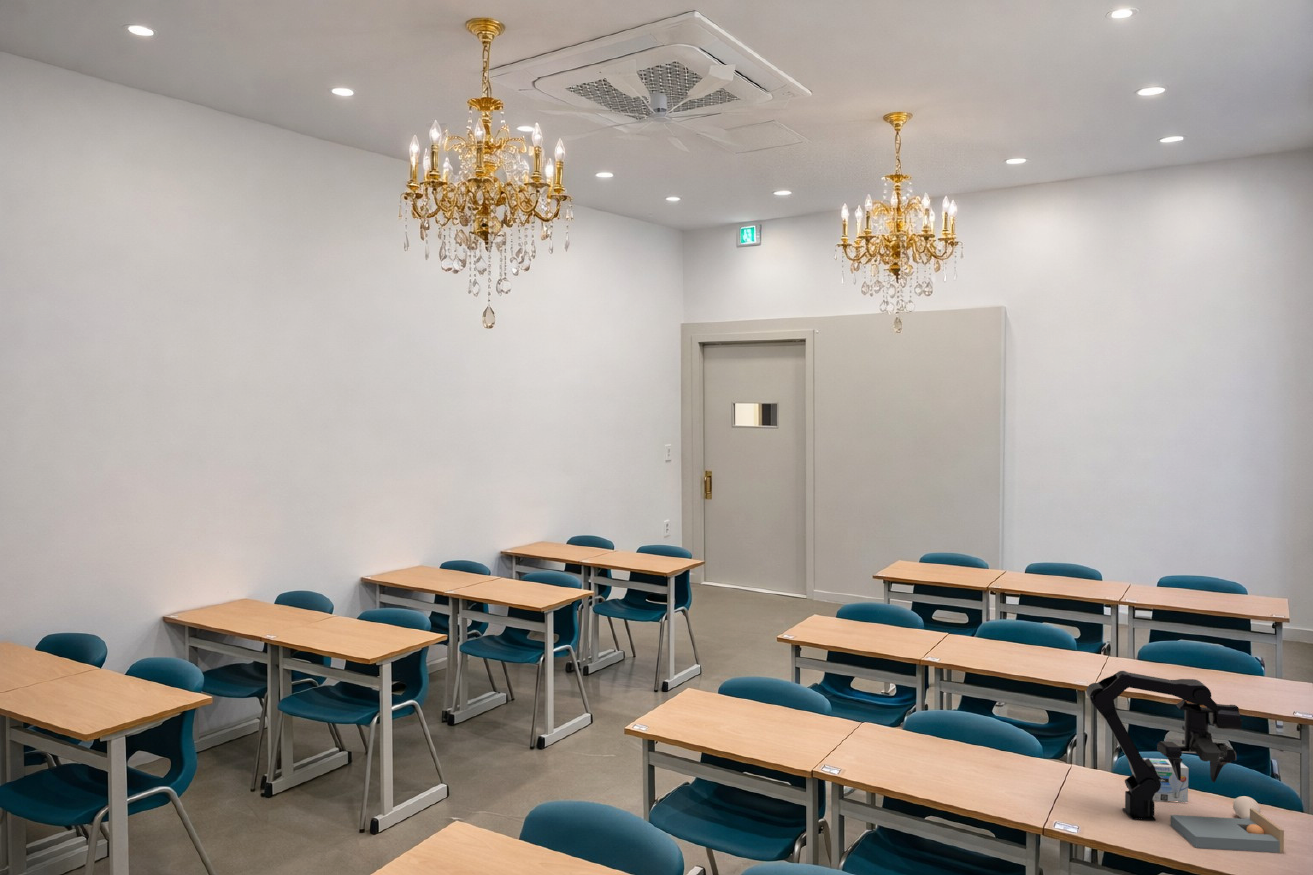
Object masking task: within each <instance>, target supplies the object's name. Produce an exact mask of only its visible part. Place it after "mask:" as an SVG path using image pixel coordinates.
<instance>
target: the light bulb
mask: <svg viewBox="0 0 1313 875" xmlns="http://www.w3.org/2000/svg"><path fill="white" fill-rule="evenodd" d="M1250 808H1253V809H1255V810H1256V811H1258V812H1259V813H1261V807H1260V805H1259V803H1258V802H1257V801H1256V800H1255V799H1254V798H1252V797H1250V796H1245V795H1243V796H1238V797H1236V798H1235V799H1234V800H1233V802H1232V809H1233V811H1234V813H1235V814H1236V816H1238V818H1239V819H1250Z"/></svg>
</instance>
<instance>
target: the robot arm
mask: <svg viewBox="0 0 1313 875" xmlns="http://www.w3.org/2000/svg"><path fill="white" fill-rule="evenodd" d="M1129 688H1131V689H1136V690H1142V691H1147V692H1151V693H1156V694H1157V693H1158V694H1163V695H1171V696H1173V697H1176V698H1179V699H1181V701H1180V702H1178V703H1176V704H1175V705H1176V707H1177V708H1178V709H1179V710H1181V711H1184V725H1182V727H1181V730H1183V731H1184V739H1182V740H1181V744H1182V745H1178V744H1176V743H1175V742H1174V741H1166V740H1165V741H1163V740H1161V741H1160V740H1159V742H1158V743H1157V746H1156V750H1157V751H1158V752H1159V754H1162V755H1163V756H1164V757H1166V758H1167V759H1168V760H1169V761H1170V763H1171V766H1172V768H1173V770H1174V773H1175V775H1176V777H1177V779H1178V780H1179V781H1180V780H1181V763H1183V762H1182V761H1183V759H1182V758H1181V756H1182V755H1183V754H1189V755H1190V754H1191V755H1192V754H1193V755H1197V756H1198V757H1199V759H1200V761H1202V762H1209V771H1210V772H1209V774H1210V775H1209V776H1210V780H1211V782H1212V783H1216V781H1217V779H1218V777H1219V775H1220V773H1221V770H1222V768H1223V767H1224V766H1226V765H1227V764H1231V763H1232V761H1233V762H1234V761H1235V762H1236V761H1237V752H1236V751H1235V750H1234V749H1233V748H1231V747H1230V746H1228V745H1227V744H1226V743H1225V742H1216V741H1214V742H1213V739H1212V738H1213V736H1212V733H1211V732H1210V731H1209V728H1210V727H1209V726H1210V725H1213V726H1214V728H1215V729H1220V730H1228V731H1229V730H1230V731H1239V732H1240V731H1241V730H1242V726H1243V721H1242V717H1241V714H1240V713H1241V712H1240V711H1239V710H1240V709H1239V708H1240V707H1239V706H1237V705H1236V704H1221V703H1217V702H1215V700H1213V698H1212V692H1211V689H1209V687H1207V686H1206V685H1205V684H1204V683H1202V681H1200V680H1198V679H1195V678H1194V679H1191V678H1179V679H1167V678H1162V677H1158V676H1157V677H1156V676H1150V675H1145V674H1139V673H1135V672H1134V673H1133V672H1128V671H1126V670H1119V671H1117V672H1116V673H1114V674H1113V675H1110V676H1107V677H1105V678H1102V679H1101V680H1100V681H1098V682H1092V683H1090V684H1089V685H1088V686H1086V691H1085V693H1086V695H1087V697H1088V699H1089V700H1090V702H1091V703H1092V705H1093V707H1094V708H1095V709H1096V710H1097V711H1098V712H1099V714H1101V716H1102V717H1103V718H1104V720H1105V721H1106V723H1107V725H1108V727H1109V728H1110V730H1111V733H1112V735H1113V736H1114V737H1115V740H1116V741H1117V743H1118V745H1119V746H1120V748H1121V749H1122V751H1123V753H1124V755H1125V757H1126V758H1127V761H1128V766H1129V769H1130V771H1131V775H1130V776H1128V777H1127V778H1126V779H1124V784H1125V786H1126V788H1127V790H1125V792H1124V794H1125V795H1124V797H1125V799H1124V802H1125V803H1124V807H1122V809H1121V810H1122V811H1123V812H1124V813H1125V814H1126V815H1127V816H1128V817H1129V818H1131V819H1132V820H1138V821H1139V820H1141V821H1156V820H1157V819H1156V817H1154V816H1155V801H1153V797H1154V794H1155V793H1157V792H1158V791H1159V790H1160V787H1161V783H1160V780H1159V779H1161V777H1160V776H1159V774H1158V773H1157V772H1156V770H1155V767H1154V765H1153V764H1152V762H1151V761H1150V760H1149V757H1147V758H1148V759H1146V760H1144V759H1143V758H1144V757H1142V755H1141V753H1140V752H1139V750H1138V747H1136V745H1135V743H1134V741H1133V739H1132V738H1131V736H1130V735H1129V732H1128V731H1127V729H1126V727H1125V725H1124V723H1123V722H1122V721H1121V718H1120V717H1119V715H1118V711H1117V708H1116V704H1115V702H1114V700H1115V699H1117V698H1118V697H1120V695H1121V694H1123V693H1124V691H1126V690H1127V689H1129ZM1209 724H1210V725H1209Z"/></svg>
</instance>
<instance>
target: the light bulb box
mask: <svg viewBox="0 0 1313 875" xmlns="http://www.w3.org/2000/svg"><path fill="white" fill-rule="evenodd" d="M1142 758H1143V759H1144V760H1146V759H1148V758H1149V757H1142ZM1149 760H1150V761H1151V762H1152V764H1153V765H1154V767H1155V770H1156V772H1157V773H1158V774H1159V776H1160V777H1161V779H1159V780H1160V783H1161V787H1160V790H1159V791H1158V792H1157V793H1155V794H1154V797H1153V801H1154V802H1163V801H1178V802H1188V803H1189V800H1188V799H1189V769H1190V768H1189V767H1188V766H1186V765H1185V763H1183V762H1181V780H1180V781H1179V780H1178V779H1177V777H1176V775H1175V773H1174V770H1173V768H1172V766H1171V763H1170V761H1169V760H1168V758H1167V759H1166V758H1151V757H1150V758H1149Z"/></svg>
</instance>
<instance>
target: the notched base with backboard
mask: <svg viewBox="0 0 1313 875" xmlns="http://www.w3.org/2000/svg"><path fill="white" fill-rule="evenodd" d="M1169 821H1170V826H1171V828H1173V829H1174V830H1175V831H1176V832H1177V833H1178V834H1179V835H1180V836H1182V837H1183V838H1184V839H1185V840H1187V842H1189V844H1191V845H1192V846H1193V847H1194V848H1196V849H1211V850H1225V851H1226V850H1228V851H1242V852H1244V851H1245V852H1263V853H1279V854H1284V852H1285V830H1284V829H1283V828H1282V827H1281V826H1279V825H1278V824H1276V823H1275V822H1273V821H1272V820H1270V819H1269V818H1267V817H1266V816H1265V815H1264V814H1262V813H1261V812H1260V813H1259V812H1258V811H1256V810H1255V809H1253V808H1250V819H1241V818H1240V817H1238V818H1236V817H1218V816H1217V817H1215V816H1202V815H1201V816H1200V815H1199V816H1198V815H1197V816H1196V815H1179V814H1170V820H1169ZM1251 824H1255V825H1258V826H1260V827H1261V828H1262V829H1263V831H1264V834H1250V833H1248V832H1247V831H1246V829H1247V827H1248V826H1249V825H1251Z"/></svg>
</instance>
